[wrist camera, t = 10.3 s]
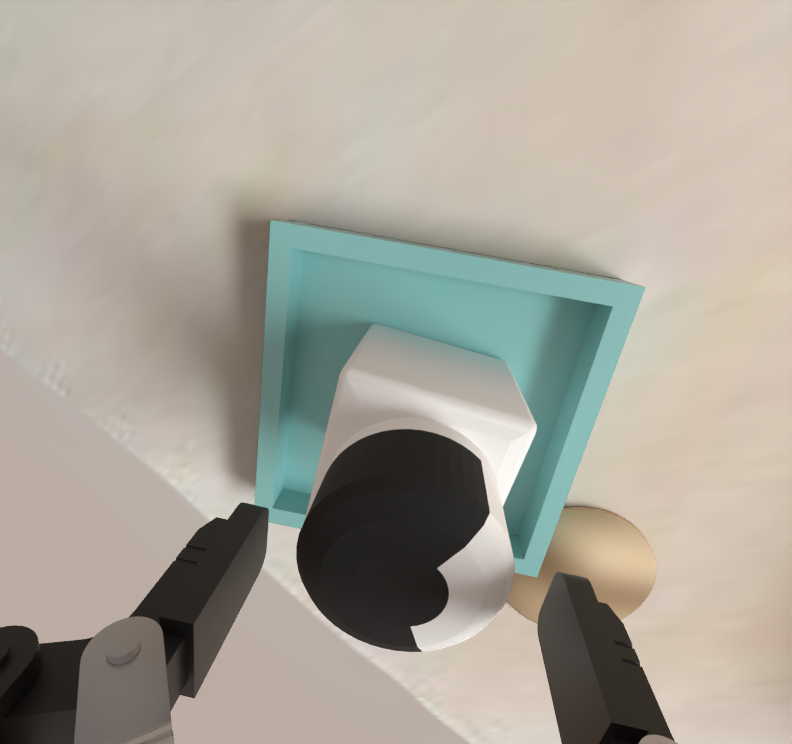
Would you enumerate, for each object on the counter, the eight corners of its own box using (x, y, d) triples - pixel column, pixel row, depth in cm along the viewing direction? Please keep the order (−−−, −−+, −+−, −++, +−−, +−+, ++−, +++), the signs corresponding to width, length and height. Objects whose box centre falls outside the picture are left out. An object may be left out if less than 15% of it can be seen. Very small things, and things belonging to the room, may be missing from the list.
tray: (289, 220, 20) (270, 219, 18) (621, 279, 20) (645, 287, 17) (269, 493, 26) (253, 518, 24) (528, 545, 25) (537, 577, 23)
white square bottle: (341, 440, 23) (249, 644, 12) (372, 320, 21) (292, 436, 10) (464, 476, 23) (486, 713, 12) (510, 360, 21) (591, 523, 10)
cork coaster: (519, 492, 24) (520, 498, 24) (677, 524, 24) (681, 530, 23) (482, 606, 27) (482, 613, 27) (621, 636, 27) (624, 643, 26)
